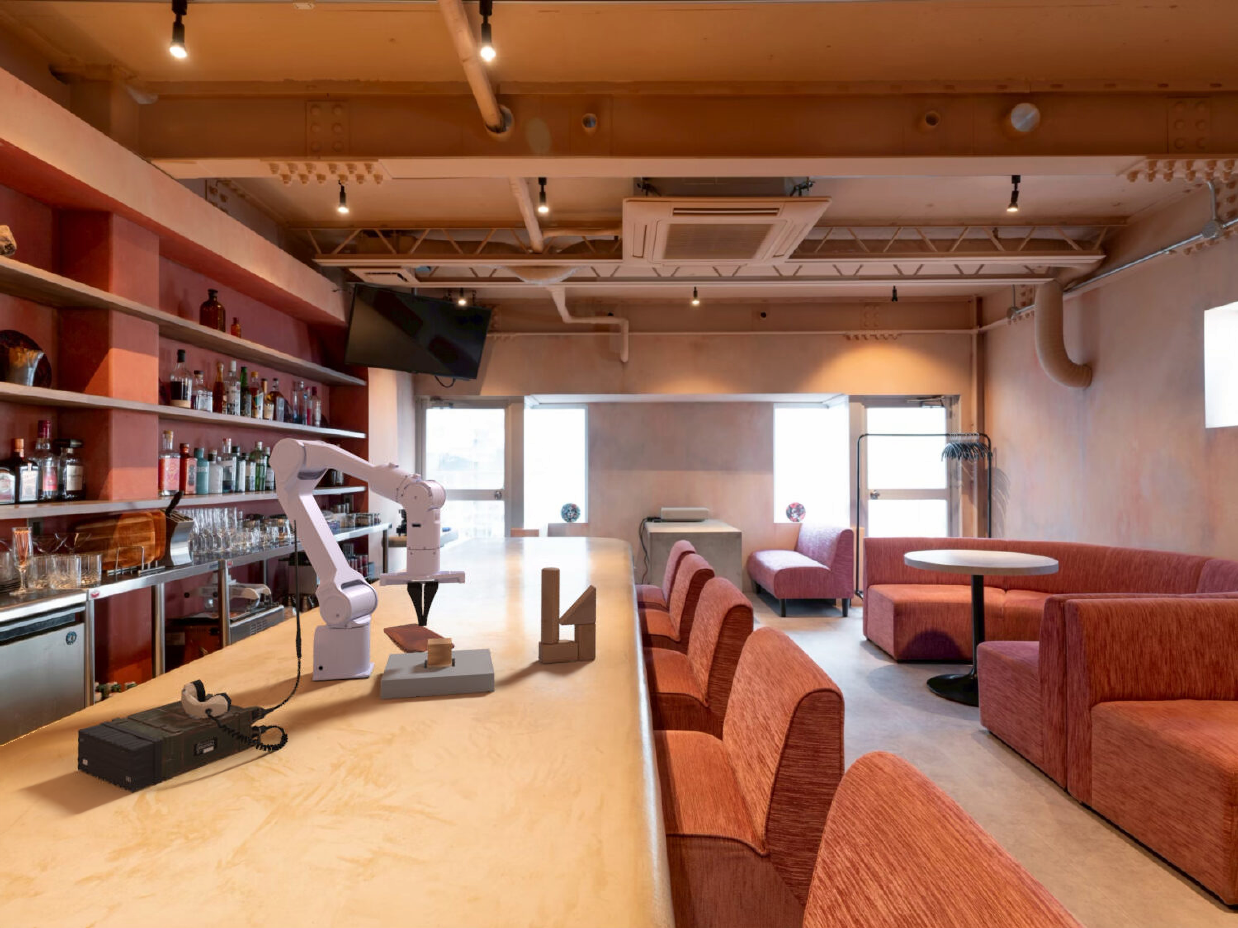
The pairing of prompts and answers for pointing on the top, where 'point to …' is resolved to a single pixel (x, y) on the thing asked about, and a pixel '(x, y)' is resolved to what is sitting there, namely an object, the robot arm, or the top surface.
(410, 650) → the wooden tablet
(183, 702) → the radio
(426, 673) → the slate board
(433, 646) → the oak peg
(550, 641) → the wooden block
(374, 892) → the top surface
